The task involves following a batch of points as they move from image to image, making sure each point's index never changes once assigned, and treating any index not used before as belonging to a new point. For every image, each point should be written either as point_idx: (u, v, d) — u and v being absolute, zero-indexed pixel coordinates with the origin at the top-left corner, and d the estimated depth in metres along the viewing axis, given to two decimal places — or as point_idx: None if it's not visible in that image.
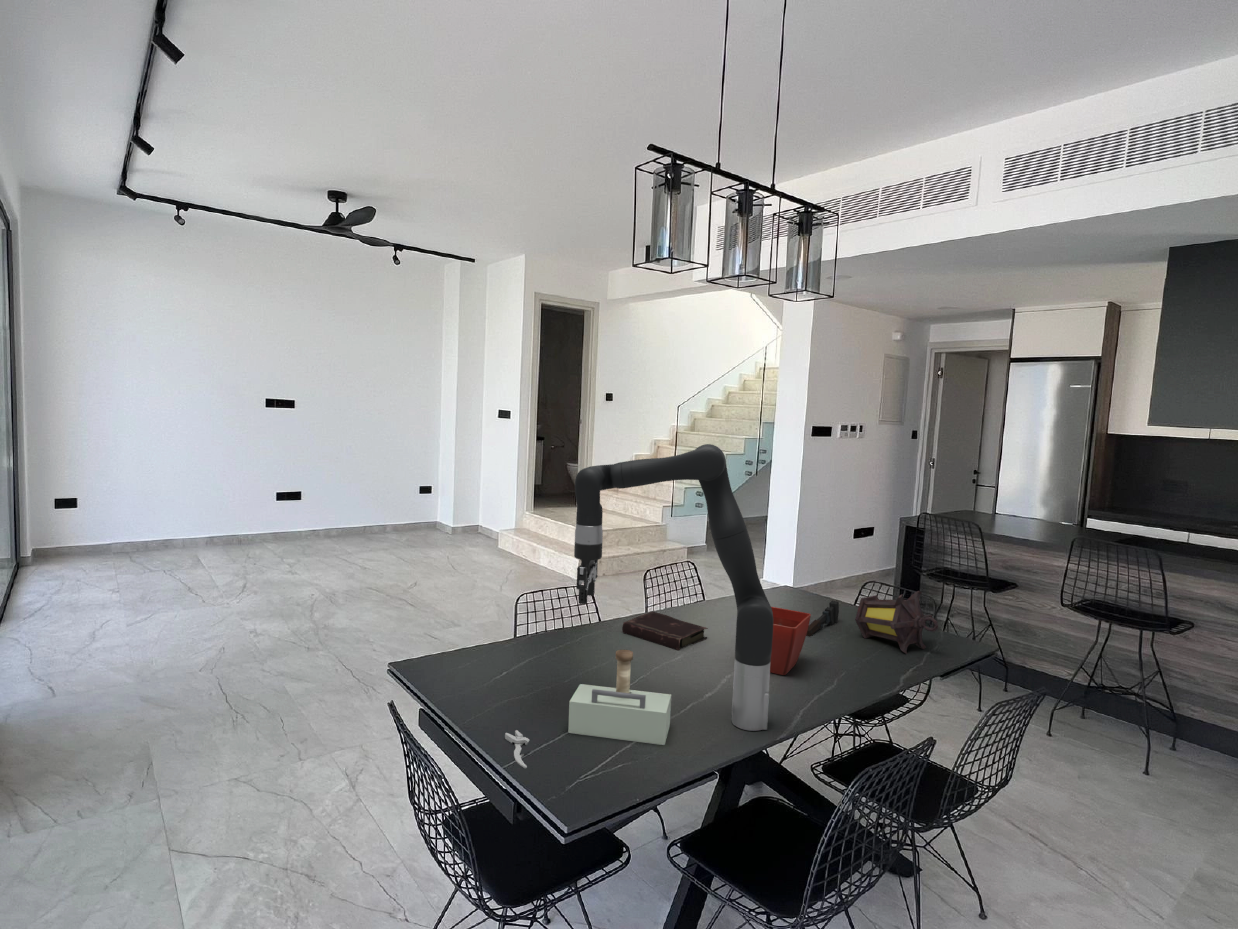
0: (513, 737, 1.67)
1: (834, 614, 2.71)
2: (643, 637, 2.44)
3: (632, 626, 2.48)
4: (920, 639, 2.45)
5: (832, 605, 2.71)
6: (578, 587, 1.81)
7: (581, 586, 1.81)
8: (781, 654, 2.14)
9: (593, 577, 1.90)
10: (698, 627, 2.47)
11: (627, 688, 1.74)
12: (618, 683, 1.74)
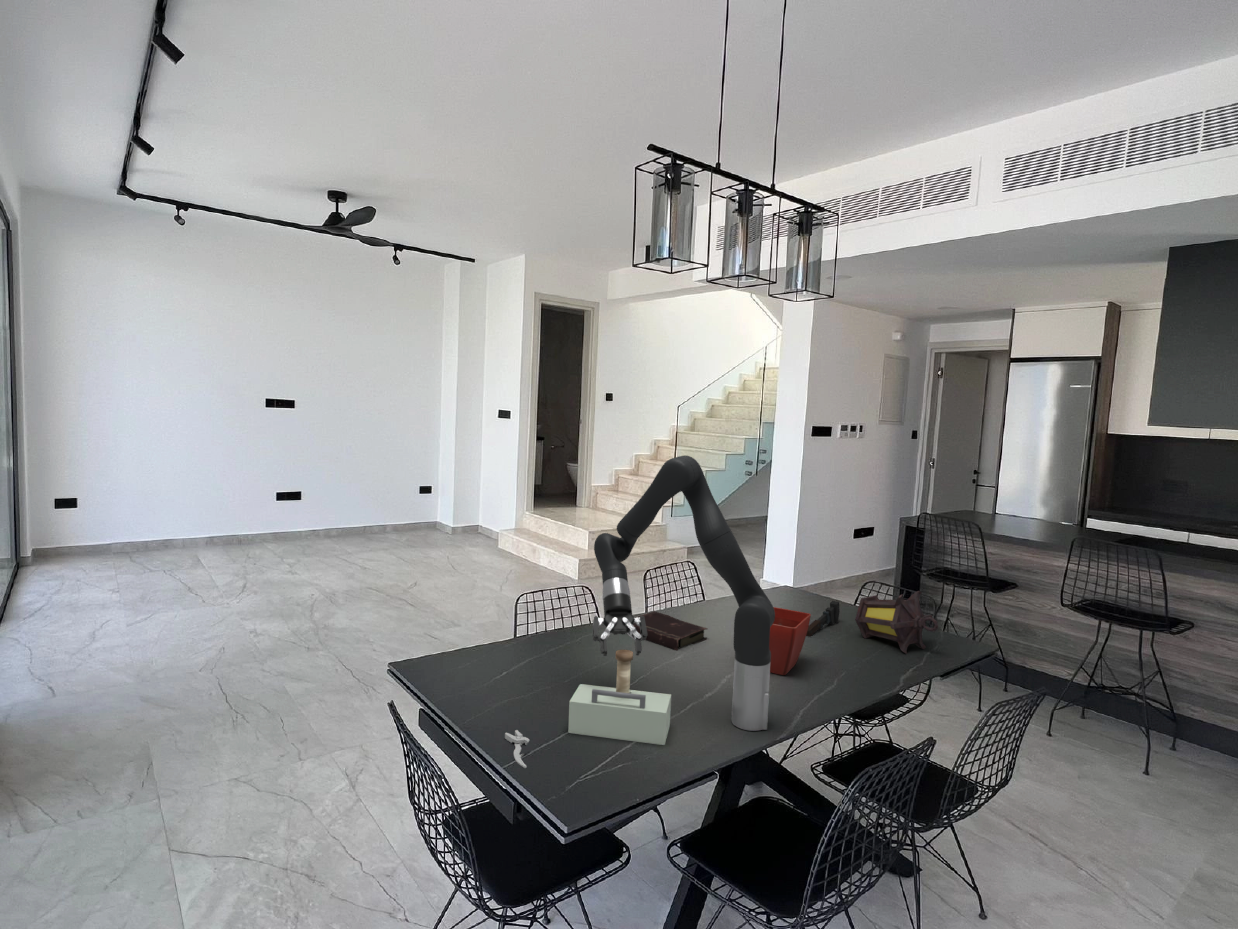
0: (513, 737, 1.67)
1: (835, 614, 2.71)
2: None
3: None
4: (920, 639, 2.45)
5: (833, 605, 2.70)
6: (593, 637, 1.81)
7: (593, 635, 1.81)
8: (781, 654, 2.14)
9: (632, 633, 1.82)
10: (698, 627, 2.46)
11: (627, 688, 1.74)
12: (618, 683, 1.74)
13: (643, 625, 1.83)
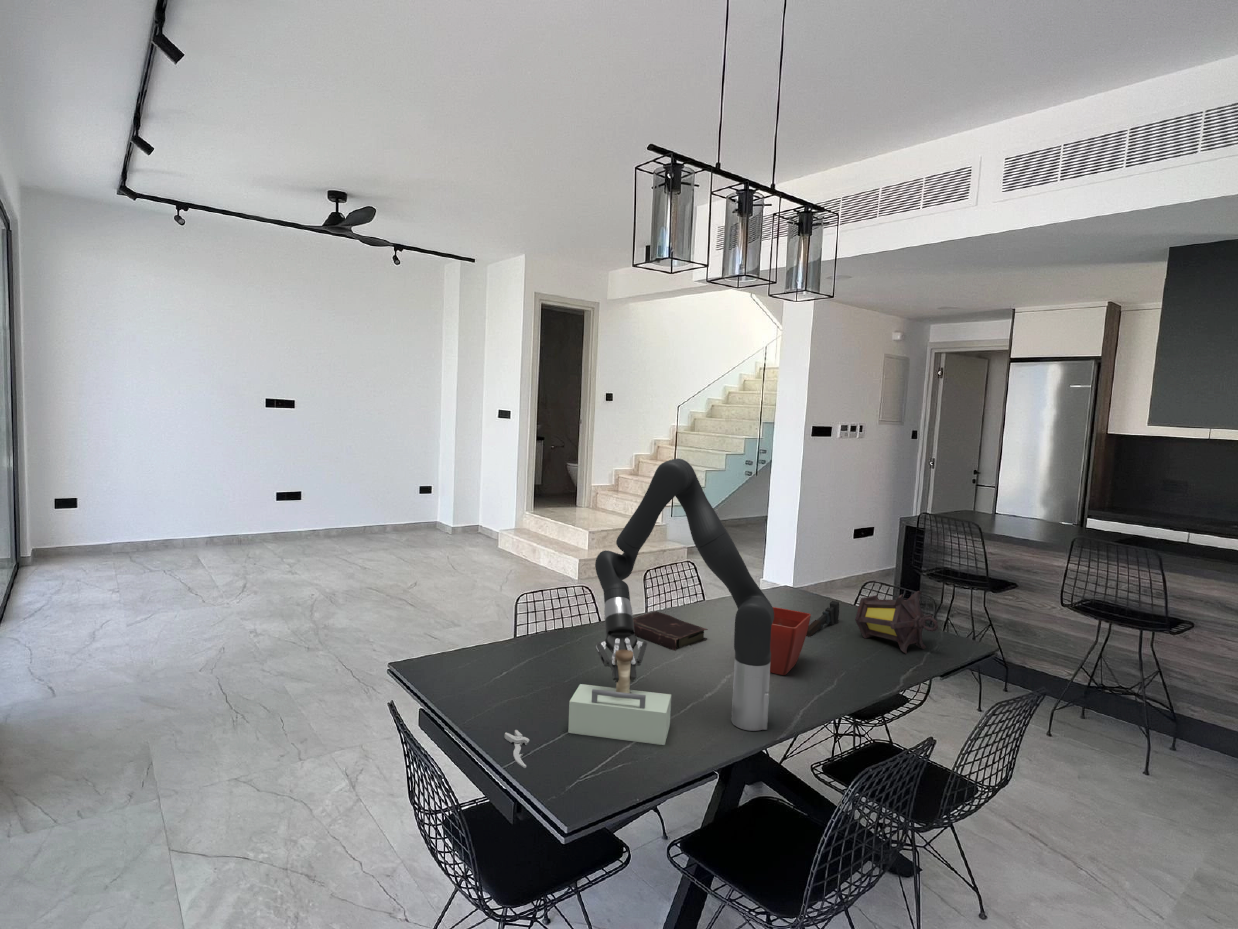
0: (513, 737, 1.67)
1: (834, 614, 2.71)
2: (641, 637, 2.45)
3: None
4: (920, 639, 2.45)
5: (832, 605, 2.70)
6: (604, 664, 1.76)
7: None
8: (781, 654, 2.14)
9: None
10: (698, 628, 2.46)
11: (627, 688, 1.74)
12: (618, 683, 1.74)
13: (642, 651, 1.78)
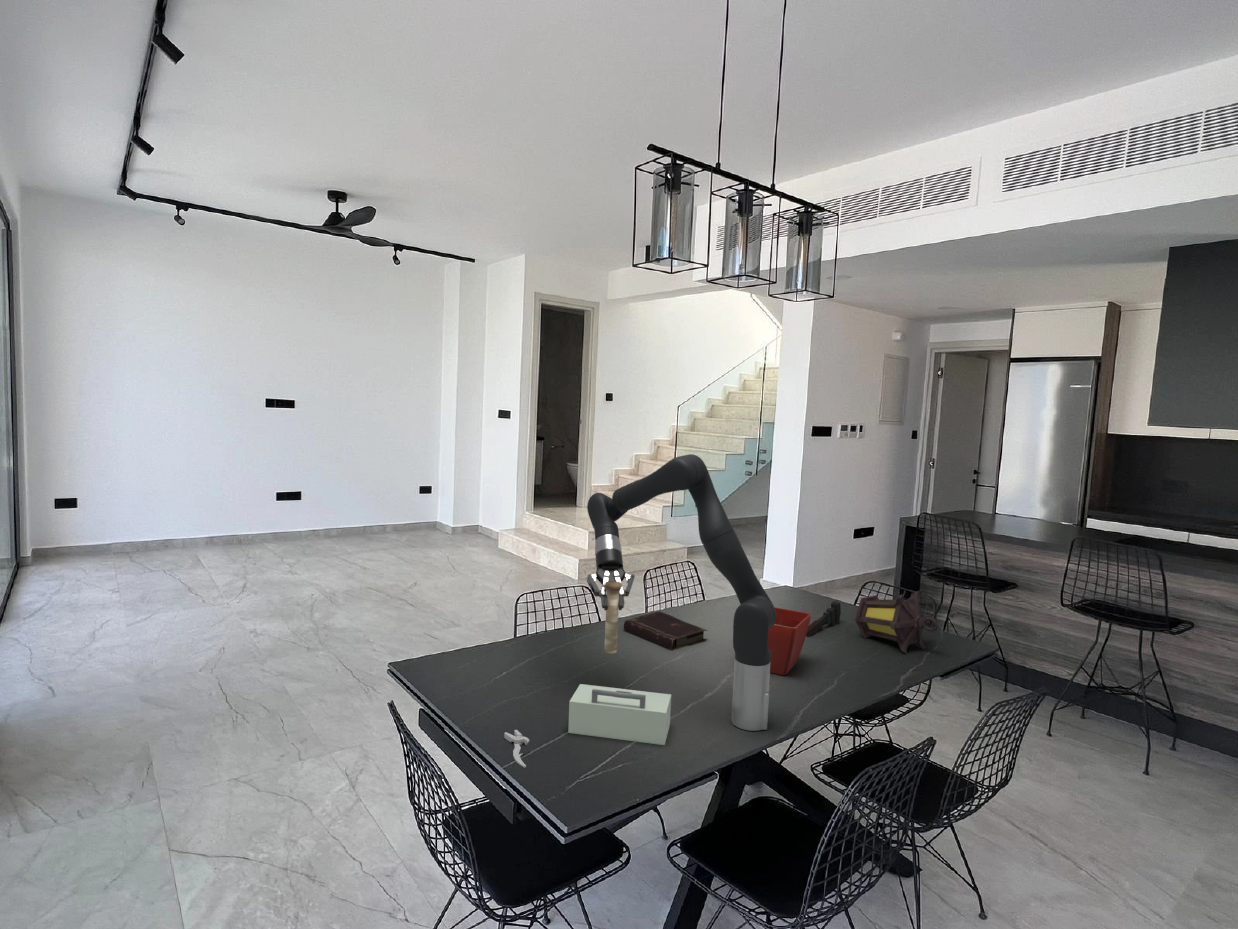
0: (512, 736, 1.67)
1: (836, 615, 2.70)
2: (641, 636, 2.46)
3: (632, 624, 2.50)
4: (920, 639, 2.45)
5: (833, 606, 2.70)
6: (594, 594, 1.89)
7: (595, 591, 1.88)
8: (781, 654, 2.14)
9: None
10: (697, 629, 2.45)
11: (616, 616, 1.87)
12: (607, 611, 1.87)
13: (630, 582, 1.90)
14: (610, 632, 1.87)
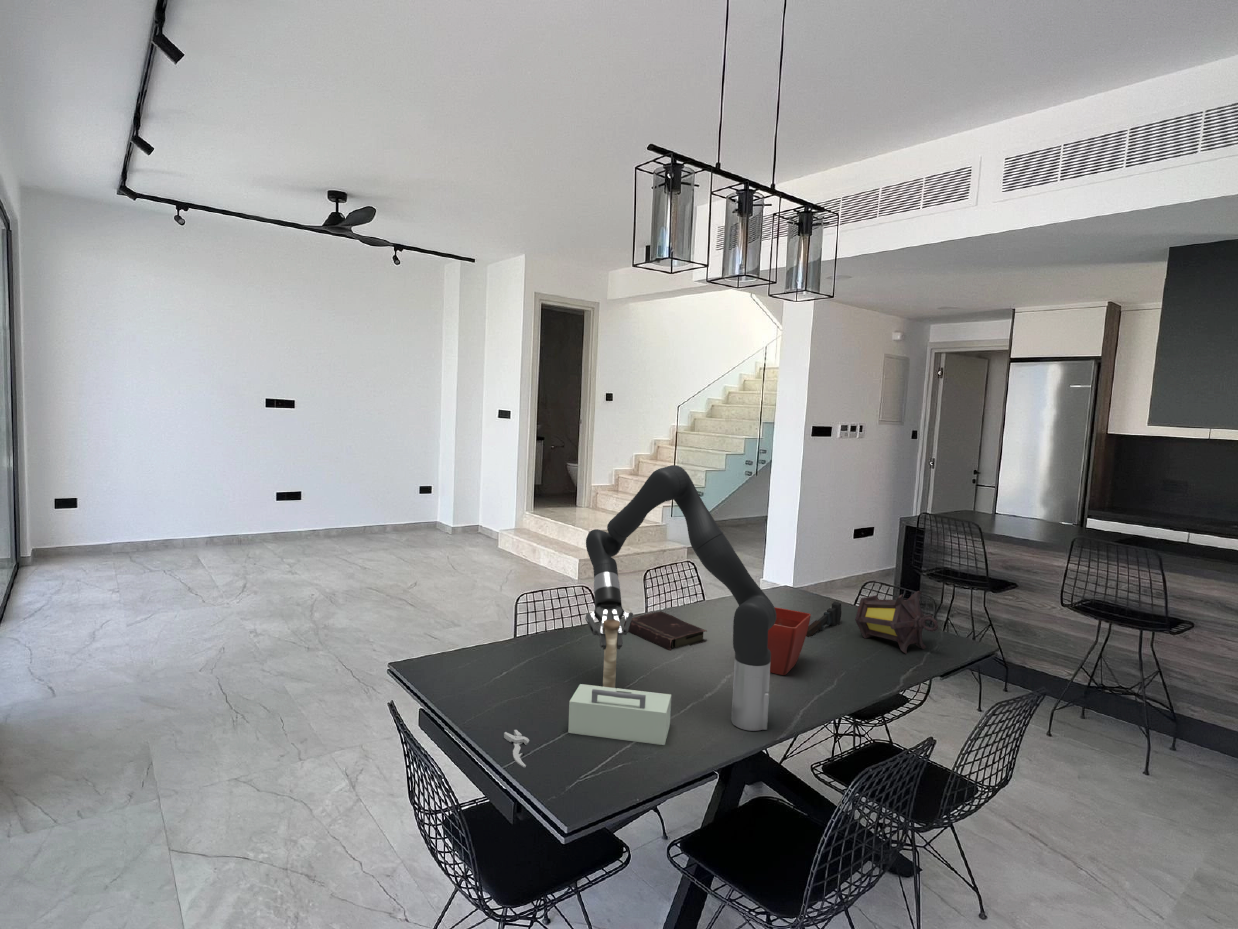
0: (512, 736, 1.68)
1: (836, 615, 2.70)
2: (640, 636, 2.46)
3: (632, 624, 2.50)
4: (920, 639, 2.45)
5: (834, 606, 2.69)
6: (593, 633, 1.90)
7: None
8: (781, 654, 2.14)
9: None
10: (697, 629, 2.45)
11: (614, 655, 1.88)
12: (606, 650, 1.88)
13: (628, 621, 1.91)
14: (608, 671, 1.88)
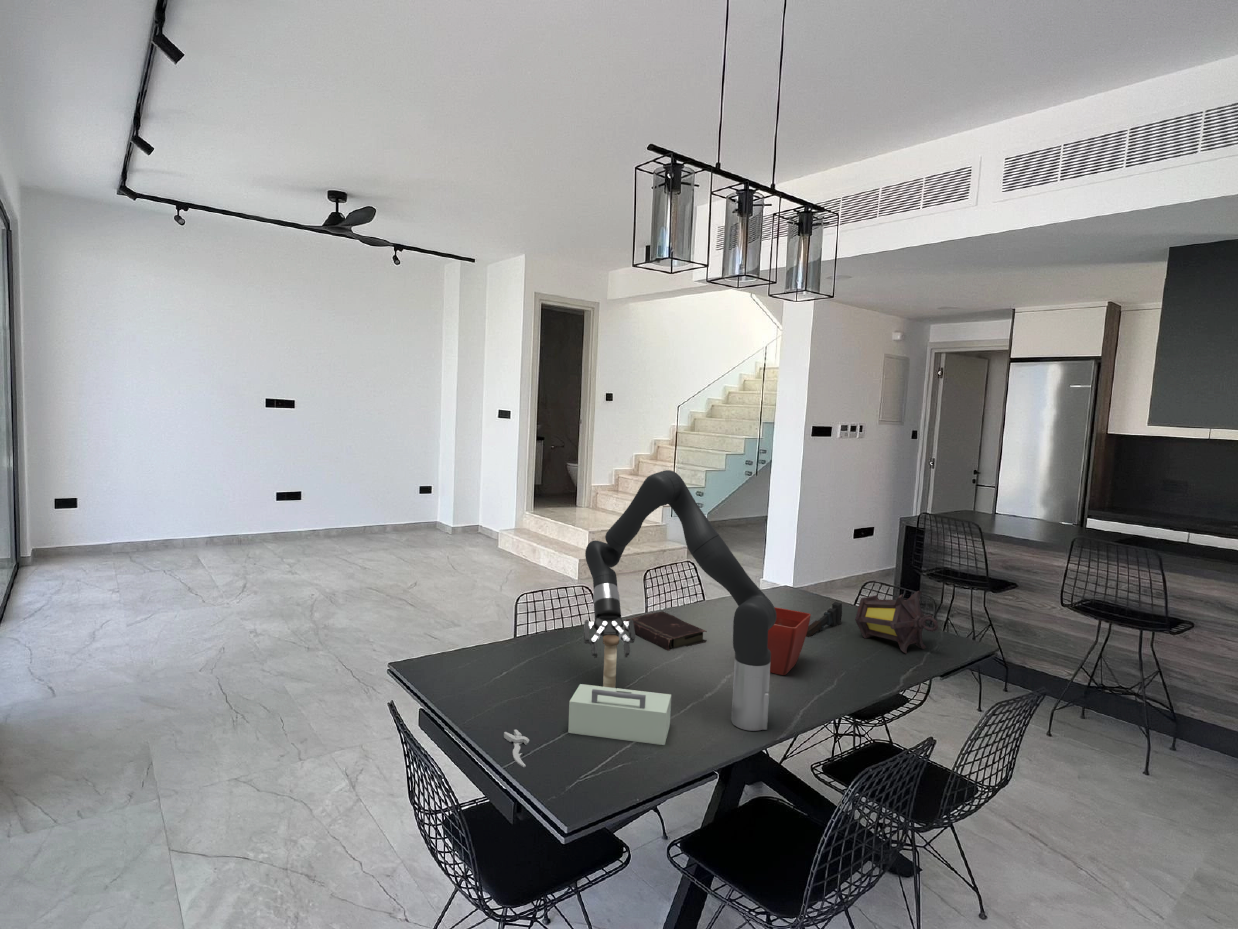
0: (512, 736, 1.68)
1: (837, 615, 2.69)
2: (640, 635, 2.47)
3: None
4: (920, 639, 2.45)
5: (835, 606, 2.69)
6: (584, 640, 1.90)
7: (584, 638, 1.90)
8: (781, 654, 2.14)
9: (621, 636, 1.91)
10: (697, 629, 2.44)
11: (613, 670, 1.88)
12: (605, 666, 1.88)
13: (631, 628, 1.92)
14: (608, 686, 1.88)
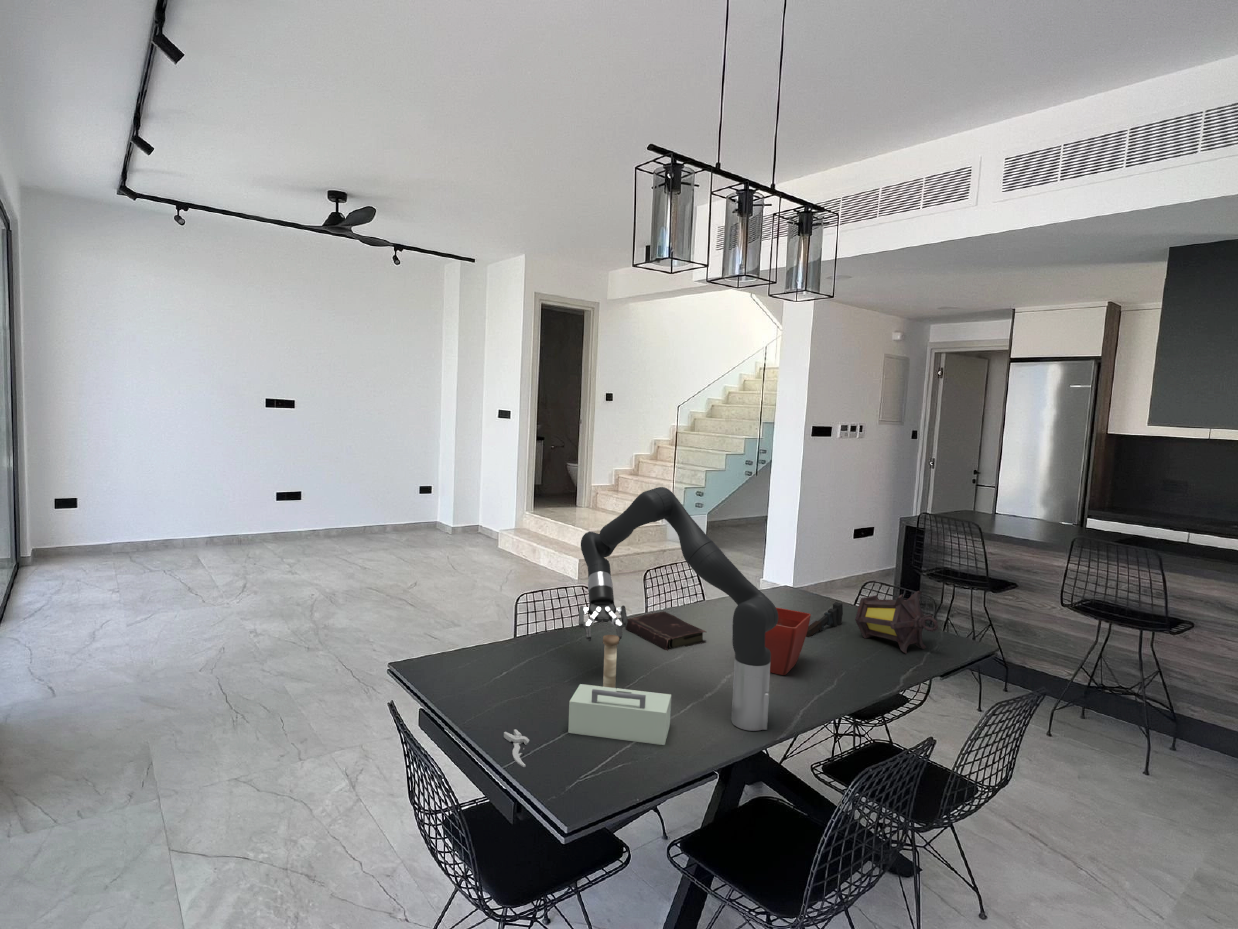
0: (512, 736, 1.68)
1: (837, 616, 2.69)
2: (640, 635, 2.47)
3: (633, 623, 2.51)
4: (920, 639, 2.45)
5: (835, 607, 2.69)
6: (579, 625, 2.03)
7: None
8: (781, 654, 2.14)
9: (614, 621, 2.04)
10: (696, 630, 2.44)
11: (613, 670, 1.88)
12: (605, 666, 1.88)
13: (624, 614, 2.05)
14: (608, 686, 1.88)
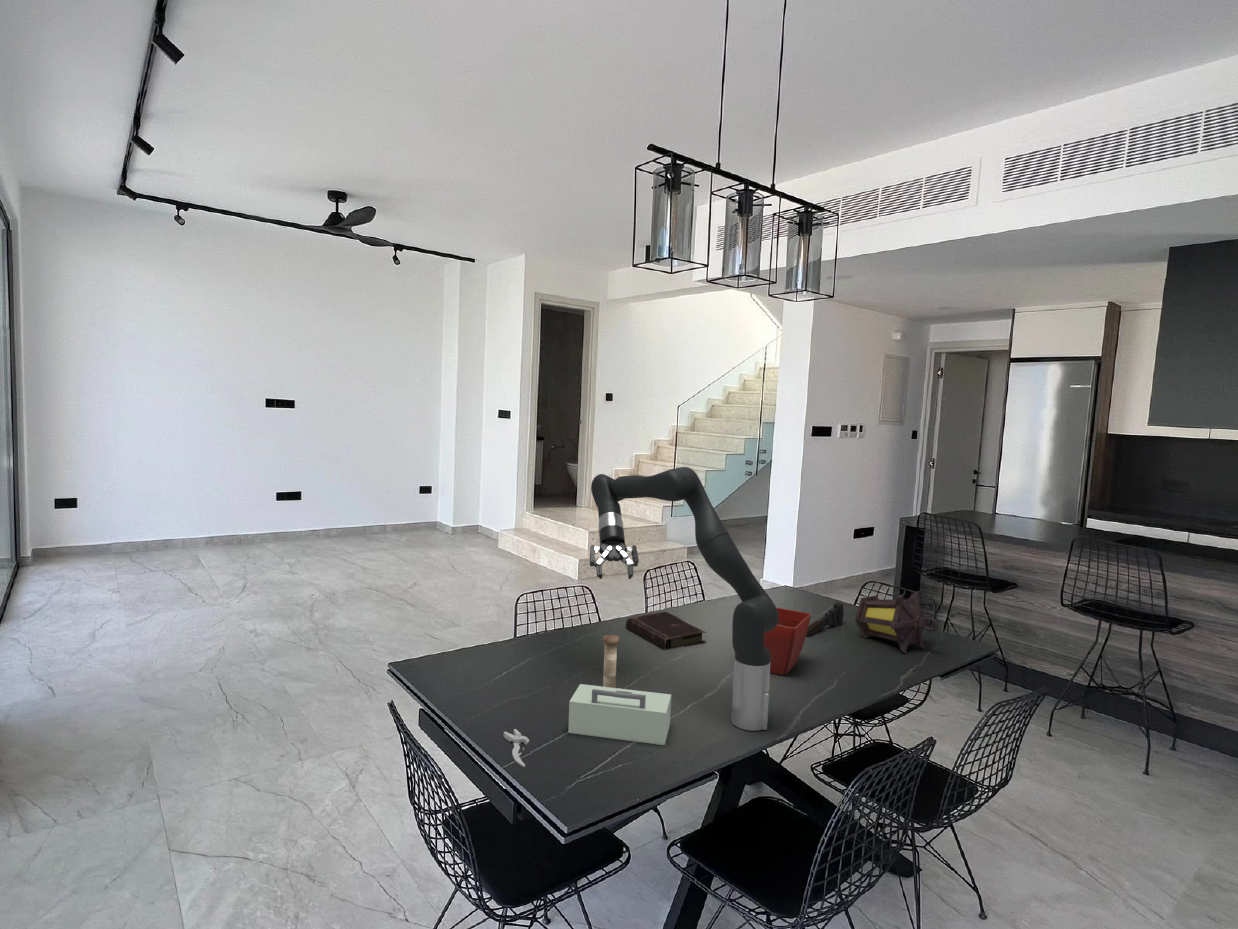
0: (512, 736, 1.68)
1: (838, 616, 2.69)
2: (640, 635, 2.47)
3: (633, 623, 2.52)
4: (920, 639, 2.45)
5: (836, 607, 2.68)
6: (590, 563, 2.02)
7: None
8: (781, 654, 2.14)
9: (625, 559, 2.02)
10: (696, 630, 2.43)
11: (613, 670, 1.88)
12: (605, 666, 1.88)
13: (635, 553, 2.04)
14: (608, 686, 1.88)
